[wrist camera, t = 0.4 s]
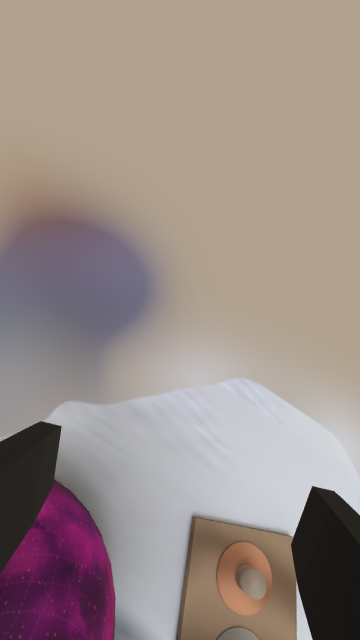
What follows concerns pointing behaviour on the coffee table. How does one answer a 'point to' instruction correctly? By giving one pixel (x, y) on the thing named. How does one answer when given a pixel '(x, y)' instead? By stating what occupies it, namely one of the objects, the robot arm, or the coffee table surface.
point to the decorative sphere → (58, 577)
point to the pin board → (205, 592)
